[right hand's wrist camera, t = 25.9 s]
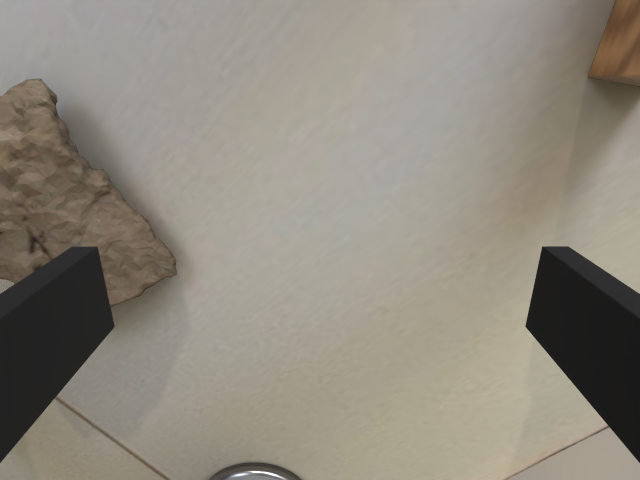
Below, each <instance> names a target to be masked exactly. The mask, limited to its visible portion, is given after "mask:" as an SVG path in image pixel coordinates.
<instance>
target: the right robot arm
mask: <svg viewBox="0 0 640 480" xmlns="http://www.w3.org/2000/svg"><path fill="white" fill-rule="evenodd" d="M114 327H115V326H114V322H113V317H112V312H111V307H110V303H109V298H108V293H107V288H106V284H105V279H104V274H103V269H102V265H101V260H100V255H99V250H98V247H70V248H69V249H67V250H66V251H64V252H63V253H61V254H60V255H58V256H57V257H55V258H54V259H52V260H51V261H49V262H48V263H46V264H45V265H43V266H42V267H40V268H39V269H37V270H36V271H34V272H33V273H31V274H30V275H28V276H27V277H25V278H24V279H22V280H21V281H19V282H18V283H16V284H15V285H13V286H12V287H10V288H9V289H7V290H6V291H4V292H3V293H1V294H0V463H1V461H2V460H3V459H4V458H5V457H6V455H7V454H8V453H9V452H10V451H11V449H12V448H13V447H14V446H15V445H16V444H17V442H18V441H19V440H20V439H21V438H22V436H23V435H24V434H25V433H26V432H27V430H28V429H29V428H30V427H31V426H32V424H33V423H34V422H35V421H36V420H37V418H38V417H39V416H40V415H41V414H42V413H43V411H44V410H45V409H46V408H47V407H48V405H49V404H50V403H51V402H52V401H53V399H54V398H55V397H56V396H57V395H58V393H59V392H60V391H61V390H62V389H63V387H64V386H65V385H66V384H67V383H68V381H69V380H70V379H71V378H72V377H73V376H74V374H75V373H76V372H77V371H78V370H79V368H80V367H81V366H82V365H83V364H84V362H85V361H86V360H87V359H88V358H89V356H90V355H91V354H92V353H93V352H94V350H95V349H96V348H97V347H98V346H99V345H100V343H101V342H102V341H103V340H104V339H105V337H106V336H107V335H108V334H109V333H110V331H111V330H112V329H113V328H114ZM525 327H526V328H527V329H528V330H529V331H530V333H531V334H532V335H533V336H534V337H535V339H536V340H537V341H538V342H539V343H540V345H541V346H542V347H543V348H544V349H545V350H546V352H547V353H548V354H549V355H550V356H551V358H552V359H553V360H554V361H555V362H556V364H557V365H558V366H559V367H560V368H561V370H562V371H563V372H564V373H565V374H566V376H567V377H568V378H569V379H570V380H571V381H572V383H573V384H574V385H575V386H576V387H577V389H578V390H579V391H580V392H581V393H582V395H583V396H584V397H585V398H586V399H587V401H588V402H589V403H590V404H591V405H592V407H593V408H594V409H595V410H596V411H597V413H598V414H599V415H600V416H601V417H602V418H603V420H604V421H605V422H606V423H607V424H608V426H609V427H610V428H611V429H612V430H613V431H614V433H615V434H616V435H617V436H618V438H619V439H620V440H621V441H622V442H623V443H624V445H625V446H626V447H627V448H628V449H629V451H630V452H631V453H632V454H633V455H634V457H635V458H636V459H637V460H638V461H639V463H640V294H639V293H637V292H636V291H634V290H633V289H631V288H630V287H628V286H627V285H625V284H624V283H622V282H621V281H619V280H618V279H616V278H615V277H613V276H612V275H610V274H609V273H607V272H606V271H604V270H603V269H601V268H600V267H598V266H597V265H595V264H594V263H592V262H591V261H589V260H588V259H586V258H585V257H583V256H582V255H580V254H579V253H577V252H576V251H574V250H573V249H571V248H570V247H542V250H541V255H540V260H539V265H538V269H537V274H536V279H535V284H534V288H533V293H532V298H531V303H530V307H529V312H528V317H527V322H526V326H525ZM209 480H301V479H300V478H298V477H297V476H296V475H294V474H293V473H291V472H289V471H287V470H285V469H283V468H280V467H277V466H274V465H270V464H264V463H244V464H238V465H234V466H231V467H228V468H225V469H223V470H221V471H219V472H218V473H216V474H215V475H214V476H212V477H211V478H210V479H209Z"/></svg>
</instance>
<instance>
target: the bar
mask: <svg viewBox="0 0 640 480" xmlns="http://www.w3.org/2000/svg"><path fill="white" fill-rule="evenodd" d="M588 77H591V78H597V79H602V80H608V81H613V82H618V83H624V84H629V85H634V86H640V0H616V2H615V5H614V7H613V10H612V13H611V15H610V18H609V21H608V23H607V26H606V29H605V31H604V34H603V37H602V39H601V42H600V45H599V47H598V50H597V53H596V55H595V58H594V61H593V63H592V66H591V69H590V71H589V74H588Z"/></svg>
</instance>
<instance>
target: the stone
mask: <svg viewBox="0 0 640 480" xmlns="http://www.w3.org/2000/svg"><path fill="white" fill-rule="evenodd" d="M56 103H57V96H56V95H55V93H54V92H53V91H52V90H50V89H49V88H48V87H47V85H46V84H45V83H44V82H43V81H42V79H31V80H26V81H24V82H22V83H20V84H18V85H16V86H14V87H12V88H11V89H9V90H8V91H7V92H6V93H5V94H4V95H2V96H1V97H0V279H6V280H9V281H12V282H13V283H15V284H16V283H18V282H19V281H21V280H22V279H24V278H25V277H27V276H28V275H30V274H31V273H33V272H34V271H36V270H37V269H39V268H40V267H42V266H43V265H45V264H46V263H48V262H49V261H51V260H52V259H54V258H55V257H57V256H58V255H60V254H61V253H63V252H64V251H66V250H67V249H69V248H70V247H98V250H99V255H100V260H101V265H102V269H103V274H104V279H105V284H106V288H107V293H108V298H109V303H110V307H112V306H114V305H116V304H119V303H122V302H125V301H127V300H130V299H132V298H135V297H138V296H141V295H142V293H143V292H144V291H145V289H147V288H149V287H151V286H153V285H154V284H155V283H157V282H158V281H160V280H162V279H164V278H165V277H172V276H175V275H177V274H176V259H175V258H174V256H173V254H172V252H171V251H170V250H169V249H168V248H167V247H166V246H165V245H164V243H162V242H161V241H160V240H159V239H157V238H156V237H155V235H154V232H153V230H152V229H151V226H150V224H149V221H148V220H147V219H145V218H144V217H143V216H142V215H140V214H138V213H137V211H136V210H134V209H132V208H131V207H130V206H129V205H128V204H127V203H126V202H125V200H124V198H123V196H122V194H121V192H119V191H118V190H117V189H116V188H115V187H114V186H113V184H112V183H111V181H110V179H109V176H108V174H107V173H106V172H105V171H104V170H102V169H100V170H94V169H92V168H91V167H90V165H89V163H88V161H86V160H85V159H84V158H82V157H81V156H79V155H78V151H77V148H76V145H75V144H74V143H73V142H72V141H71V140H69V130H68V128H67V126H66V124H65V122H64V121H63V120H62V119H61V118H60V117H59V116H58V114H57V110H56Z"/></svg>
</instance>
